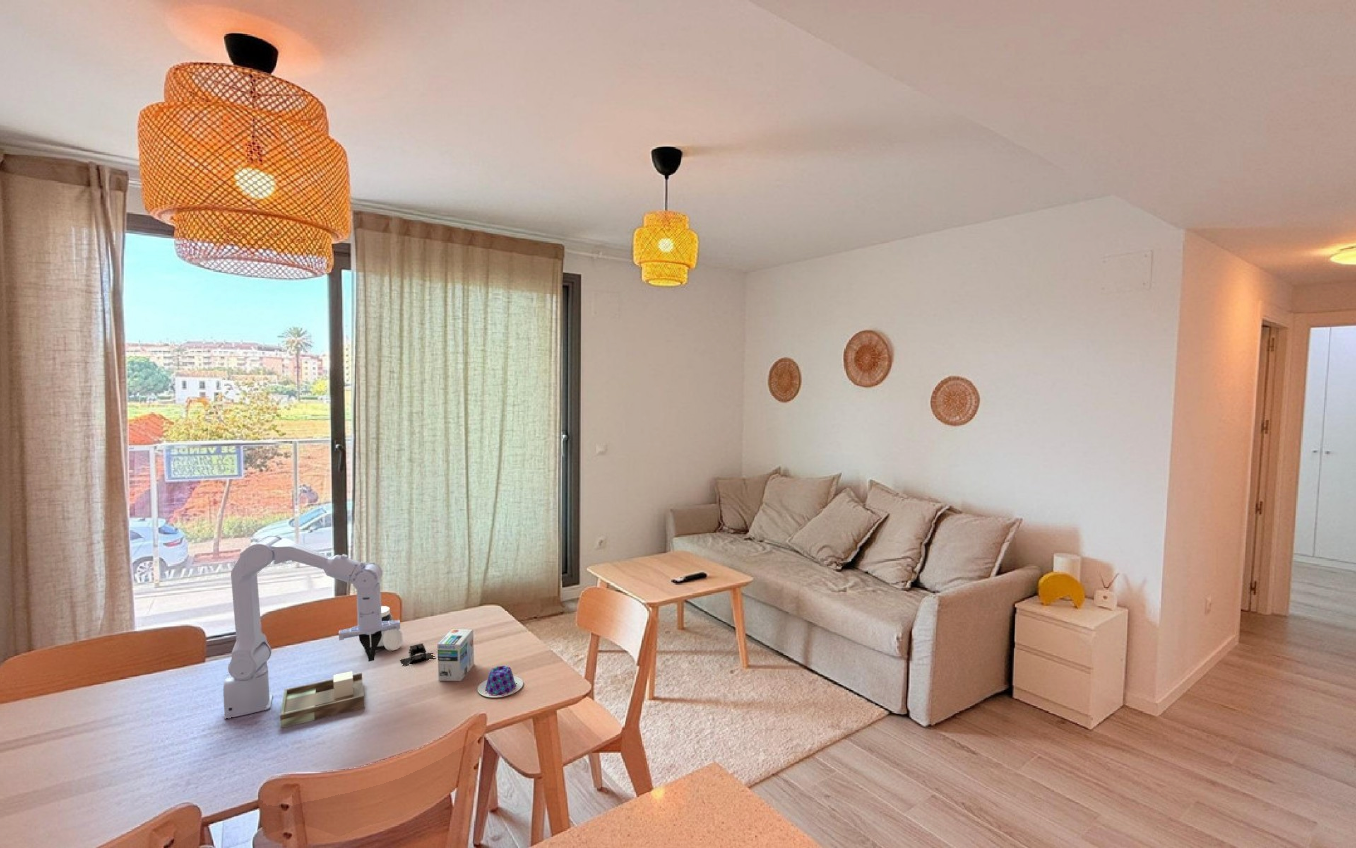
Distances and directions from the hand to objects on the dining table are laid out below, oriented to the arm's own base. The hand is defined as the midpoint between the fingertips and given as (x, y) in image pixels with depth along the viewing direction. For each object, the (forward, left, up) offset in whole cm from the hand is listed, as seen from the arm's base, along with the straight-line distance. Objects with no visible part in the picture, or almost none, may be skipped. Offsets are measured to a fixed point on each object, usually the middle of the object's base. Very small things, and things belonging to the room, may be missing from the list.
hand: (371, 659), depth 160 cm
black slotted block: (+13, +15, -10) cm, 23 cm away
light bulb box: (+22, +1, -10) cm, 24 cm away
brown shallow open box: (-11, 0, -9) cm, 15 cm away
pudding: (+31, -14, -10) cm, 35 cm away
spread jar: (+5, +30, -10) cm, 32 cm away
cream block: (-7, 0, -7) cm, 10 cm away
